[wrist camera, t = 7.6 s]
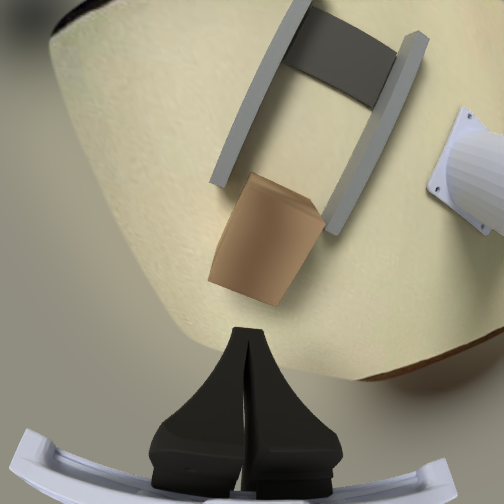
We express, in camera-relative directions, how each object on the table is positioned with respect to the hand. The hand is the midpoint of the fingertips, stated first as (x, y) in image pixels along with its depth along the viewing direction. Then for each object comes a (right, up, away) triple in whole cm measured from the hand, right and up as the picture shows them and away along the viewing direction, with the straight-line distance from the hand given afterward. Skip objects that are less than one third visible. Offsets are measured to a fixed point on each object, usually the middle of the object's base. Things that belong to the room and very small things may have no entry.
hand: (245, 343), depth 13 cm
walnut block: (+1, +6, +8) cm, 10 cm away
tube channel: (+5, +14, +3) cm, 16 cm away
